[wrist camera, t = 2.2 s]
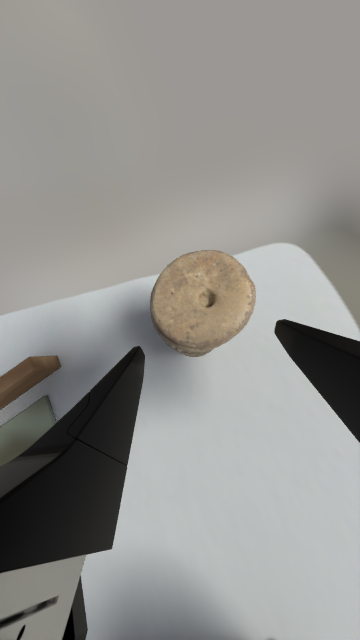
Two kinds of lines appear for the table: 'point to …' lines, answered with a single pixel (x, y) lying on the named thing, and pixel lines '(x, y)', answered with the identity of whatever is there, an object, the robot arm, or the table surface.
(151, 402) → the table surface
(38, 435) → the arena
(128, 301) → the table surface
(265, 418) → the table surface
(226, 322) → the carving
